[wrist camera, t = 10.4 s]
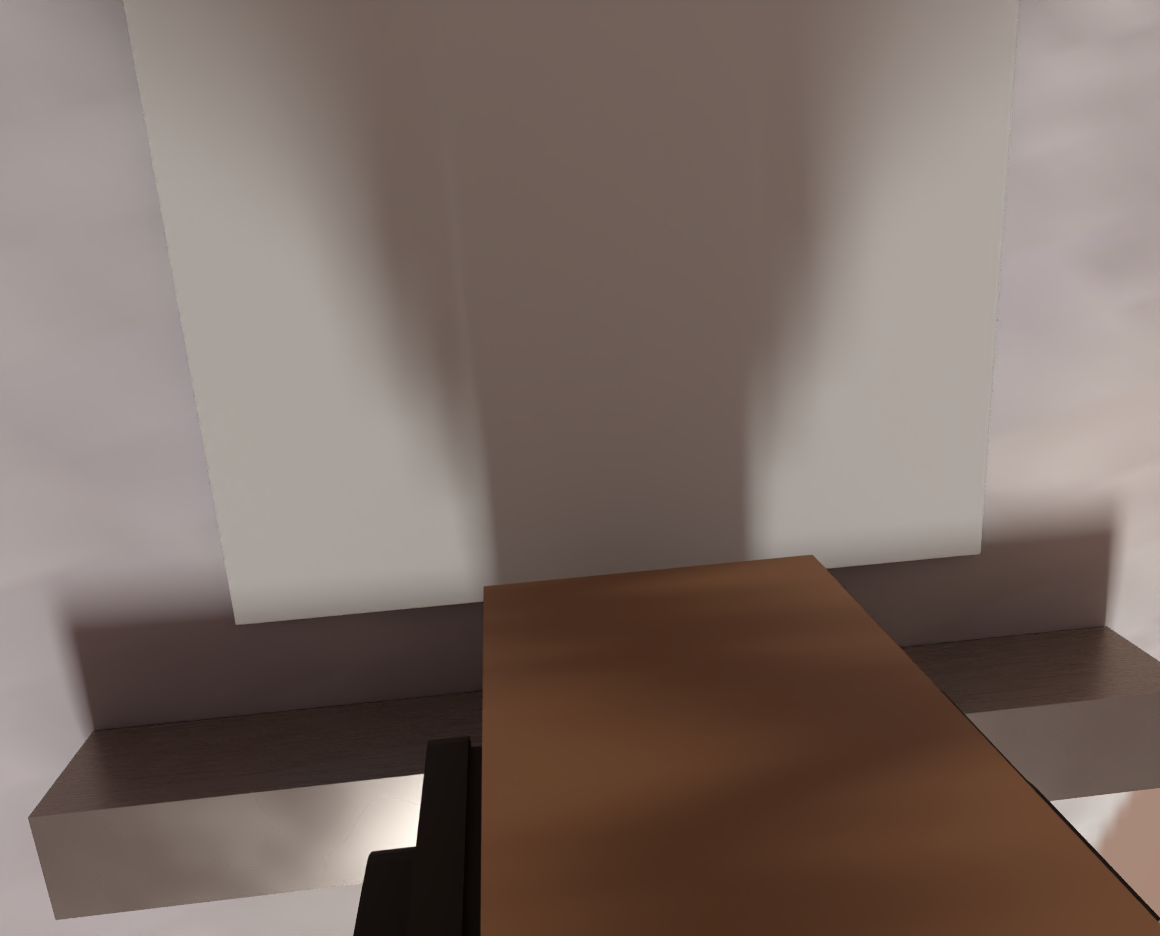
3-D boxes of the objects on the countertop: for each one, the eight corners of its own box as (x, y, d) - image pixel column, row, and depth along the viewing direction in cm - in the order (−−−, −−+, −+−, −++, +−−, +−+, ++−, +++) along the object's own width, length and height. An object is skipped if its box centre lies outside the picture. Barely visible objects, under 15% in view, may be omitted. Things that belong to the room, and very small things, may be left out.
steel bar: (1106, 625, 18) (1199, 688, 16) (1096, 712, 19) (1185, 784, 17) (92, 731, 17) (28, 817, 14) (114, 821, 17) (56, 919, 15)
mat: (1042, -475, 13) (1054, -490, 13) (972, 548, 18) (980, 553, 17) (43, -476, 12) (33, -492, 12) (239, 618, 16) (235, 625, 16)
